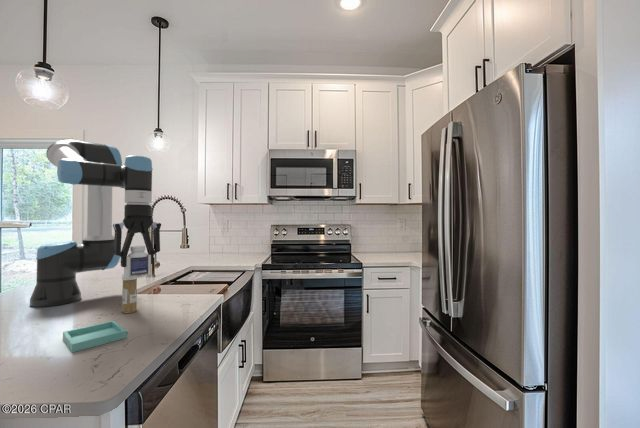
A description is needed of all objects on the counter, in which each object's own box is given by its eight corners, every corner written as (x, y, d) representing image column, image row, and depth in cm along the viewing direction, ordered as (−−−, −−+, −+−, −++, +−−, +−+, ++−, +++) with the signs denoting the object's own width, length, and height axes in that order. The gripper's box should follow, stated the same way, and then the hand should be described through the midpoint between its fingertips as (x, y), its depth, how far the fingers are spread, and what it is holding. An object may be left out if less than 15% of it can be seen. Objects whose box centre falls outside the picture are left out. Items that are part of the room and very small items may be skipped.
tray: (62, 339, 82) (62, 331, 82) (113, 326, 91) (114, 320, 91) (71, 352, 74) (71, 344, 74) (126, 337, 83) (126, 330, 83)
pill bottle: (151, 275, 98) (151, 245, 98) (136, 278, 93) (136, 247, 93) (138, 274, 100) (139, 245, 100) (123, 277, 95) (123, 246, 95)
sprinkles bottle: (137, 312, 105) (137, 274, 105) (121, 314, 102) (122, 275, 102) (136, 308, 109) (137, 272, 109) (121, 310, 106) (122, 273, 106)
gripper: (108, 202, 87) (107, 282, 87) (172, 204, 101) (171, 273, 101) (100, 203, 92) (99, 278, 91) (163, 205, 106) (162, 270, 106)
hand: (137, 275), depth 96 cm, fingers closed on pill bottle, 5 cm apart
